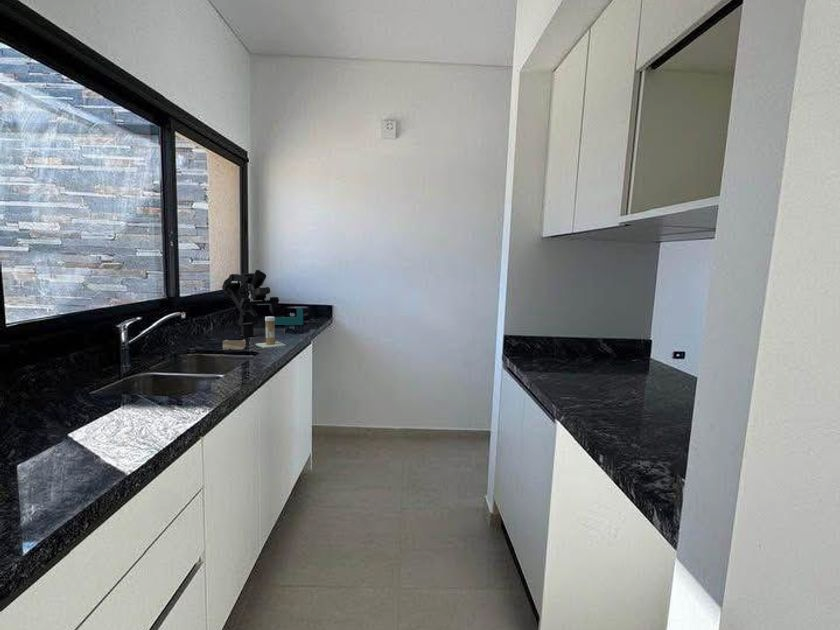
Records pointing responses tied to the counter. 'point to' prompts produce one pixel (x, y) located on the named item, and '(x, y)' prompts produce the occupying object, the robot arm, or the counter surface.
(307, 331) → the counter surface
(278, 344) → the rubber mat
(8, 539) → the counter surface
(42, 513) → the counter surface
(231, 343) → the bottle stand
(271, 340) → the sprinkles bottle
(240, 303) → the robot arm
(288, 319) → the teal l-shaped bracket
